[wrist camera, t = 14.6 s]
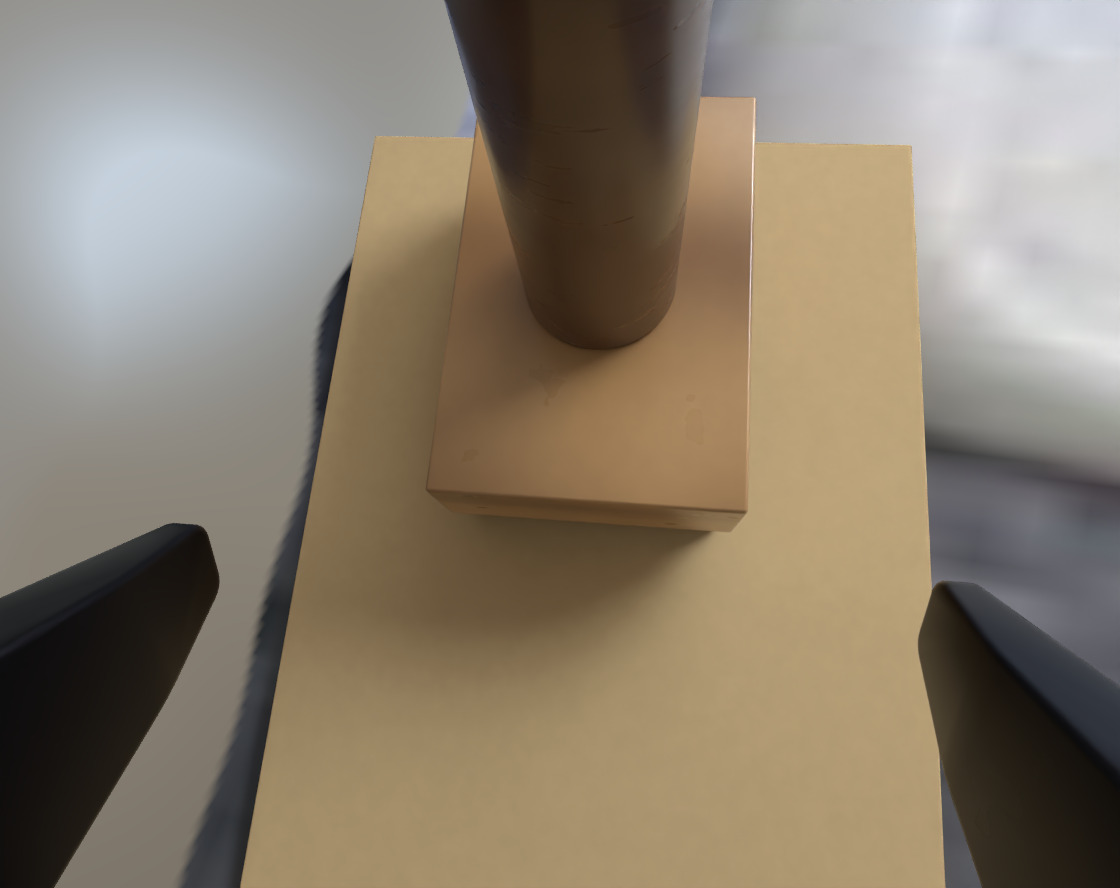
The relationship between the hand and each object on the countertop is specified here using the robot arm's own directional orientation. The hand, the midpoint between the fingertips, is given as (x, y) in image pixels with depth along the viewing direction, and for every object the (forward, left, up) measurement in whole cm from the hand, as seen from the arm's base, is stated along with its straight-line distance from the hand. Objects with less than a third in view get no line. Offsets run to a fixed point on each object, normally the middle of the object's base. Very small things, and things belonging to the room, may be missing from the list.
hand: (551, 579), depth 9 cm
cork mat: (+1, 0, -8) cm, 8 cm away
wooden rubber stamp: (+6, +1, -7) cm, 10 cm away
